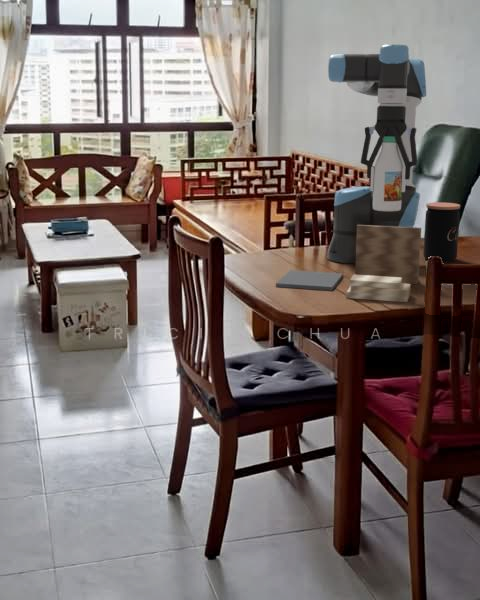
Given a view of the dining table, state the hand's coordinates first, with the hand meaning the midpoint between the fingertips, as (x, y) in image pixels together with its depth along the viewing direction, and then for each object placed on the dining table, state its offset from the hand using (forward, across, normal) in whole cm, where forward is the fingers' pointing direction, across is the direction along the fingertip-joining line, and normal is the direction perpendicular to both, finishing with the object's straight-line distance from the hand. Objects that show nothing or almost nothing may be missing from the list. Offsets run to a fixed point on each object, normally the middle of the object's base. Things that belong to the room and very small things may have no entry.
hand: (387, 190), depth 229 cm
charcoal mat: (+27, -21, +1) cm, 34 cm away
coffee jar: (+27, +13, +45) cm, 54 cm away
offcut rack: (+27, 0, -2) cm, 27 cm away
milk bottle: (+5, 0, 0) cm, 5 cm away
